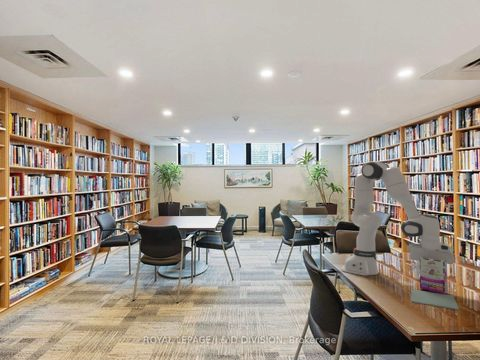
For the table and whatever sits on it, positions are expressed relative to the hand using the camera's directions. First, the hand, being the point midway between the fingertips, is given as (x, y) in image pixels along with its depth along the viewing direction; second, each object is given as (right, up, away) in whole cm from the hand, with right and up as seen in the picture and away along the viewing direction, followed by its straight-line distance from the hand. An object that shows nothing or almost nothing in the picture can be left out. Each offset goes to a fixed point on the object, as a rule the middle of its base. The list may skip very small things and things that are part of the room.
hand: (431, 270), depth 151 cm
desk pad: (-11, -9, -16) cm, 22 cm away
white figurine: (+2, -10, +12) cm, 16 cm away
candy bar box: (-4, -9, -7) cm, 12 cm away
